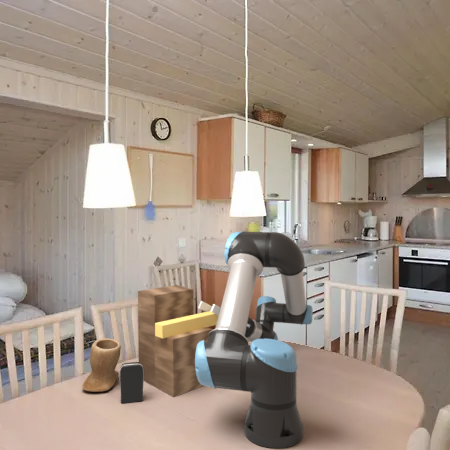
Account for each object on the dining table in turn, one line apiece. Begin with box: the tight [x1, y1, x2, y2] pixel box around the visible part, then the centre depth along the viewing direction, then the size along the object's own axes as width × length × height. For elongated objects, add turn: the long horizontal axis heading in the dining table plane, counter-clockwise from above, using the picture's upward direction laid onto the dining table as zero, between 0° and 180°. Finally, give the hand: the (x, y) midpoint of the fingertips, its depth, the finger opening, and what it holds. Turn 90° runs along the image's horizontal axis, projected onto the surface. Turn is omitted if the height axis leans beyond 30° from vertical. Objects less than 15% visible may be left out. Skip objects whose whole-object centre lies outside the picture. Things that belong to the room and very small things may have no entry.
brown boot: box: [81, 337, 122, 393], centre depth 143 cm, size 15×12×15 cm
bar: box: [155, 311, 218, 339], centre depth 145 cm, size 28×4×4 cm, turn 133°
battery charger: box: [119, 361, 145, 404], centre depth 132 cm, size 7×4×11 cm, turn 103°
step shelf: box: [137, 284, 213, 398], centre depth 146 cm, size 16×20×30 cm
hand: (206, 306), depth 148 cm, fingers open, 6 cm apart
